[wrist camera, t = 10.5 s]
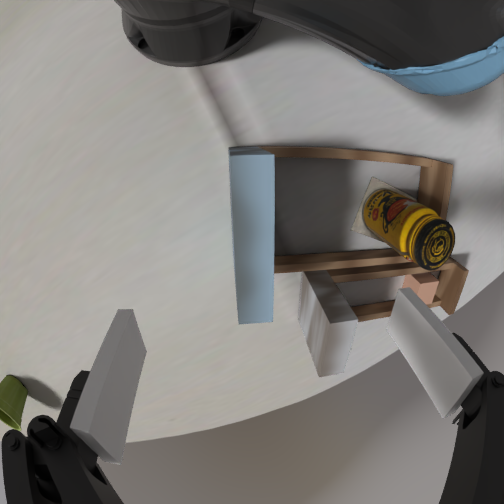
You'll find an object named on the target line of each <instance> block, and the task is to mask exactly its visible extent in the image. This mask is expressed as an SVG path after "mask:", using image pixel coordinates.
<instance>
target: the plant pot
mask: <svg viewBox="0 0 504 504" xmlns="http://www.w3.org/2000/svg"><path fill="white" fill-rule="evenodd" d="M27 394H28V391H27V389H26V388H25V387H24V386H23V385H22V383H21V382H20V381H19V380H18V379H16V378H14V377H13V376H10V375H9V376H8V375H7V376H6V377H5V378H4V379H3V380H2V381H1V383H0V420H1V421H2V422H4V423H5V424H6V425H8V426H9V427H11V428H13V429H16V430H18V431H21V427H20V426H21V421H22V420H21V417H22V413H23V409H24V405H25V401H26V398H27Z"/></svg>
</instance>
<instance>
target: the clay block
mask: <svg viewBox="0 0 504 504" xmlns="http://www.w3.org/2000/svg"><path fill="white" fill-rule="evenodd" d="M438 283H439V280H437V279H436V278H435V277H434V276H433V275H432V274H431V273H430V272H425V273H417V274H410V275H406V276H405V279H404V283H403V287H402V288H408V287H410V288H411V289H412V290H413V291H414V292H415V293H416V295H417V296H418V297H419V298H420V299H421V300H422V301H423V302H424V303H425V304H426V305H427V304H432V301H433V298H434V296H435V293H436V290H437V287H438Z"/></svg>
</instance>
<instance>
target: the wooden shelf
mask: <svg viewBox="0 0 504 504" xmlns="http://www.w3.org/2000/svg"><path fill="white" fill-rule="evenodd" d="M274 157H305V158H336V159H354V160H368V161H380V162H391V163H400V164H409V165H417V166H421V172H420V183H419V191H418V200H417V202H418V203H420V204H422V205H425V206H426V207H429V208H431V209H433V210H434V211H435V212H436V213H437V215H438V216H439V217H441V218H442V219H443V220H446V216H447V210H448V204H449V197H450V190H451V182H452V173H453V165H452V164H448V163H445V162H441V161H437V160H433V159H430V158H424V157H418V156H411V155H404V154H396V153H388V152H379V151H369V150H357V149H344V148H326V147H296V146H261V147H230V148H229V172H230V195H231V216H232V236H233V255H234V271H235V284H236V297H237V310H238V322H239V324H250V323H263V322H273V296H274V273H288V272H302V271H315V270H328V269H340V268H351V267H363V266H374V265H384V264H395V263H405V262H411V261H409V260H407V259H405V258H404V257H403V256H401V255H400V254H399V253H398V252H397V251H395V250H394V249H382V250H367V251H352V252H336V253H321V254H305V255H289V256H274V225H275V167H274ZM428 271H430V270H428Z"/></svg>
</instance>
